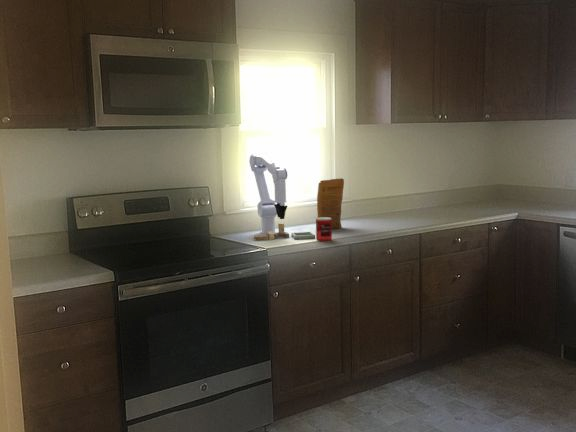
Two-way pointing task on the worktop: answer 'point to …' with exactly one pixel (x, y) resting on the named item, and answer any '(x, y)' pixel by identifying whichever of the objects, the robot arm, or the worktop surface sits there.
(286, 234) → the socket block
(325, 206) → the pancake mix bag
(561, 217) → the worktop surface
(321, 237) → the canned food
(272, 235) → the block
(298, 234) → the tray
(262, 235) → the brown wooden board
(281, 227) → the dowel
